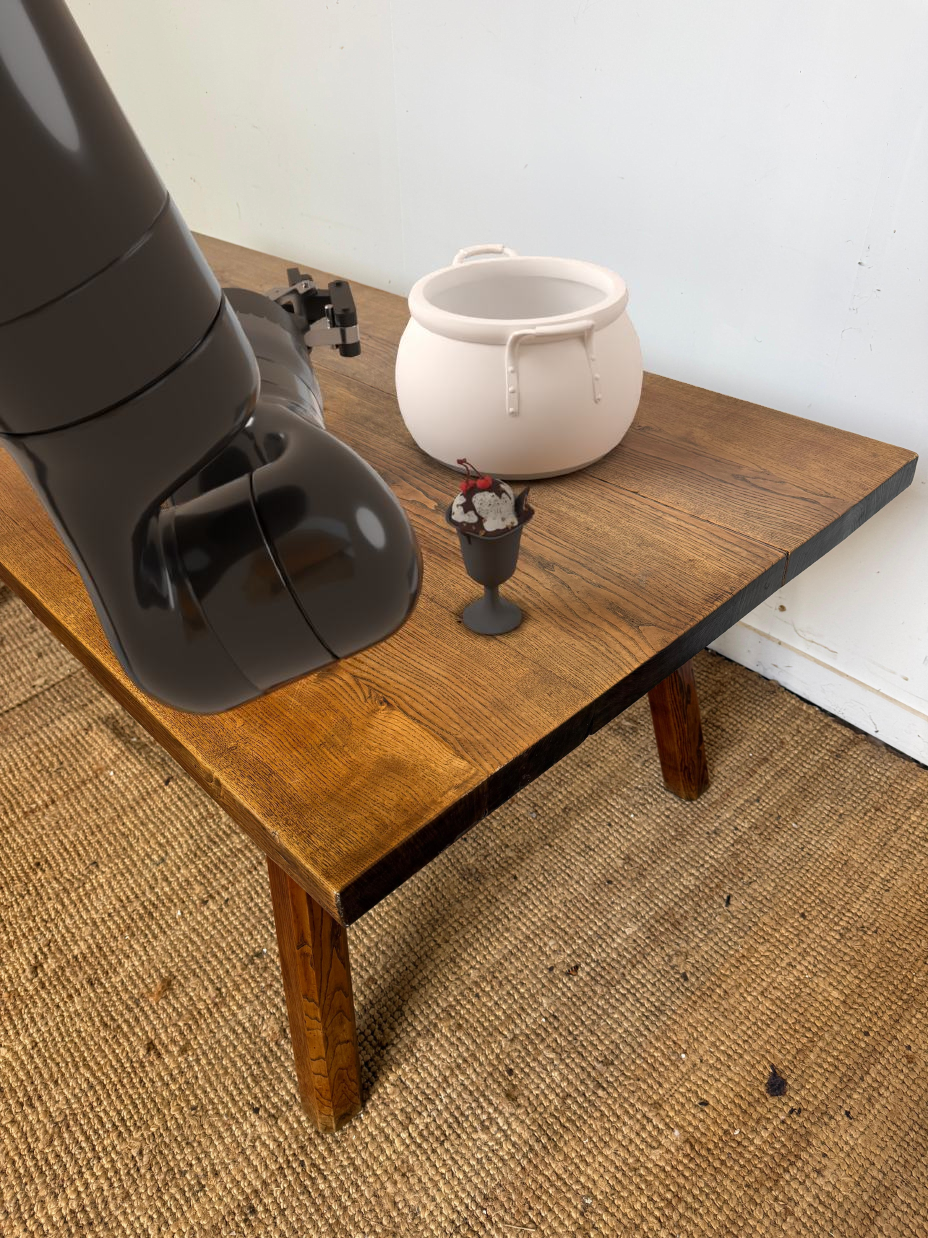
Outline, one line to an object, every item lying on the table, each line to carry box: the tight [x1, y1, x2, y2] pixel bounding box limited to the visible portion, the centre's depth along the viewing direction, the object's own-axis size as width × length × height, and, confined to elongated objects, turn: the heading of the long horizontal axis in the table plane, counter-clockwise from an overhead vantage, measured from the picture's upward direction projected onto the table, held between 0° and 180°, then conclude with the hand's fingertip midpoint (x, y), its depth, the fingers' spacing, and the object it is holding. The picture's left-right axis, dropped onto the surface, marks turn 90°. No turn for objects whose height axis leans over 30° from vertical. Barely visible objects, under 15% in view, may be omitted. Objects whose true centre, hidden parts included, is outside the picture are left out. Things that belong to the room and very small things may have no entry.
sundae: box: [444, 458, 536, 636], centre depth 69 cm, size 7×7×15 cm
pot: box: [394, 243, 644, 481], centre depth 94 cm, size 29×26×17 cm
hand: (225, 292), depth 55 cm, fingers open, 8 cm apart
